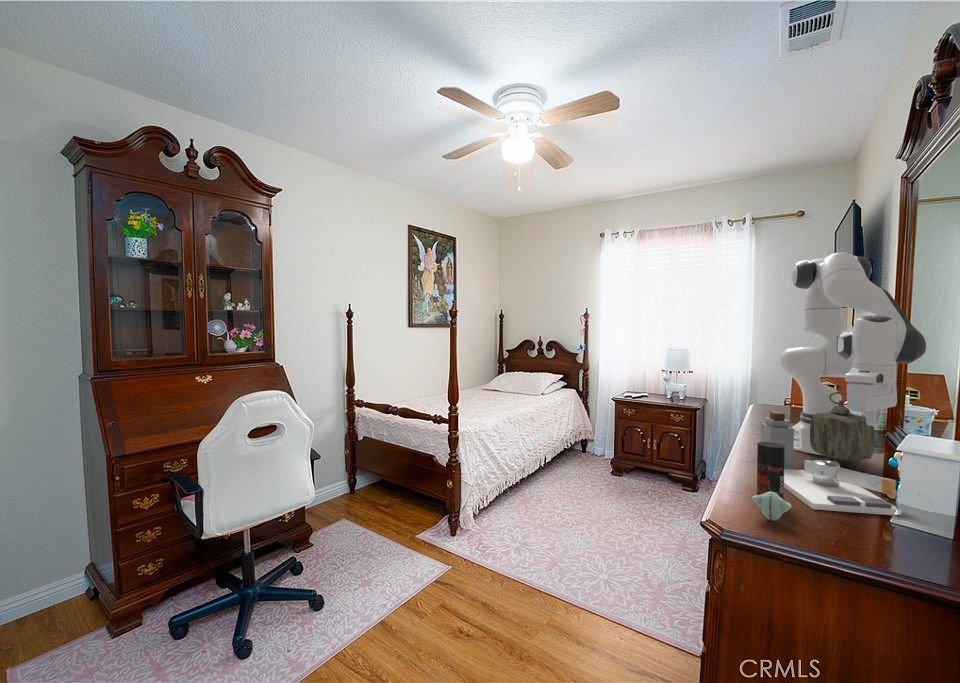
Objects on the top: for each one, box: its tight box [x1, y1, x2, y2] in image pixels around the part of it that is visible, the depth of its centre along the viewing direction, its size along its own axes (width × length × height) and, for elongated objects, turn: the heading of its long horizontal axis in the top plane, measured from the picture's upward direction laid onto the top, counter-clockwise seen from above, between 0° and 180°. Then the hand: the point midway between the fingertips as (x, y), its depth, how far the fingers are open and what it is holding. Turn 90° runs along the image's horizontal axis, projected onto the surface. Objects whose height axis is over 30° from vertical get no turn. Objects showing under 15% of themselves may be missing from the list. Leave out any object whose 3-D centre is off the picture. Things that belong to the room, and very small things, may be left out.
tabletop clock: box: [810, 391, 876, 473], centre depth 137 cm, size 14×9×25 cm, turn 17°
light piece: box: [803, 459, 897, 496], centre depth 115 cm, size 20×6×6 cm, turn 27°
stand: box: [784, 469, 897, 516], centre depth 118 cm, size 28×19×3 cm
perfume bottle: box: [760, 411, 795, 470], centre depth 139 cm, size 7×7×18 cm
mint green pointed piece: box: [751, 492, 792, 522], centre depth 100 cm, size 8×4×7 cm, turn 47°
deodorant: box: [756, 441, 785, 501], centre depth 111 cm, size 6×6×15 cm
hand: (872, 425), depth 114 cm, fingers closed
